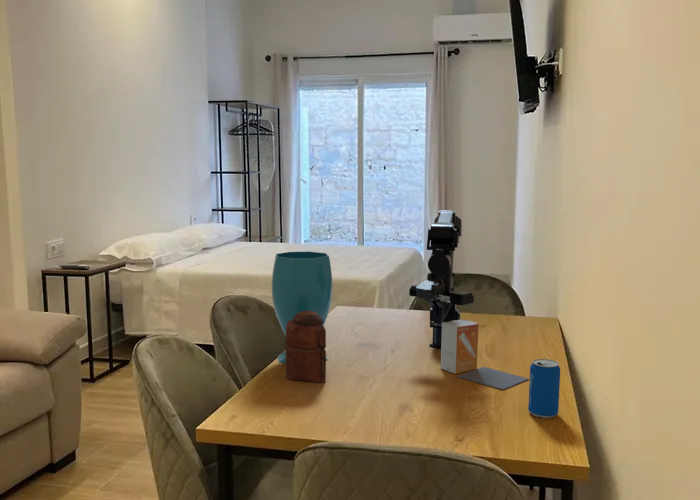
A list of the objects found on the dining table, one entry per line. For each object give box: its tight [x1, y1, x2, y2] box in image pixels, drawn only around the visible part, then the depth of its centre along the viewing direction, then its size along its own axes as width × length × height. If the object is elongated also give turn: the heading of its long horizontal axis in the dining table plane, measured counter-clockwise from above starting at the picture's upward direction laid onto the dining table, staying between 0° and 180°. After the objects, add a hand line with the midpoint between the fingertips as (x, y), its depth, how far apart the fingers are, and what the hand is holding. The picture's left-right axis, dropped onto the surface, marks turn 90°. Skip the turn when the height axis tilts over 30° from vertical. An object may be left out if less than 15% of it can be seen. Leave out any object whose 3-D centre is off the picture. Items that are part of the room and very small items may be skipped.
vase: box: [271, 251, 333, 365], centre depth 187 cm, size 17×17×30 cm
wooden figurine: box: [284, 311, 327, 384], centre depth 169 cm, size 12×6×18 cm, turn 73°
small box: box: [440, 318, 480, 375], centre depth 179 cm, size 8×6×13 cm
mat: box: [457, 366, 530, 391], centre depth 172 cm, size 14×12×1 cm
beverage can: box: [527, 358, 561, 419], centre depth 146 cm, size 6×6×12 cm
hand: (439, 324), depth 183 cm, fingers closed
